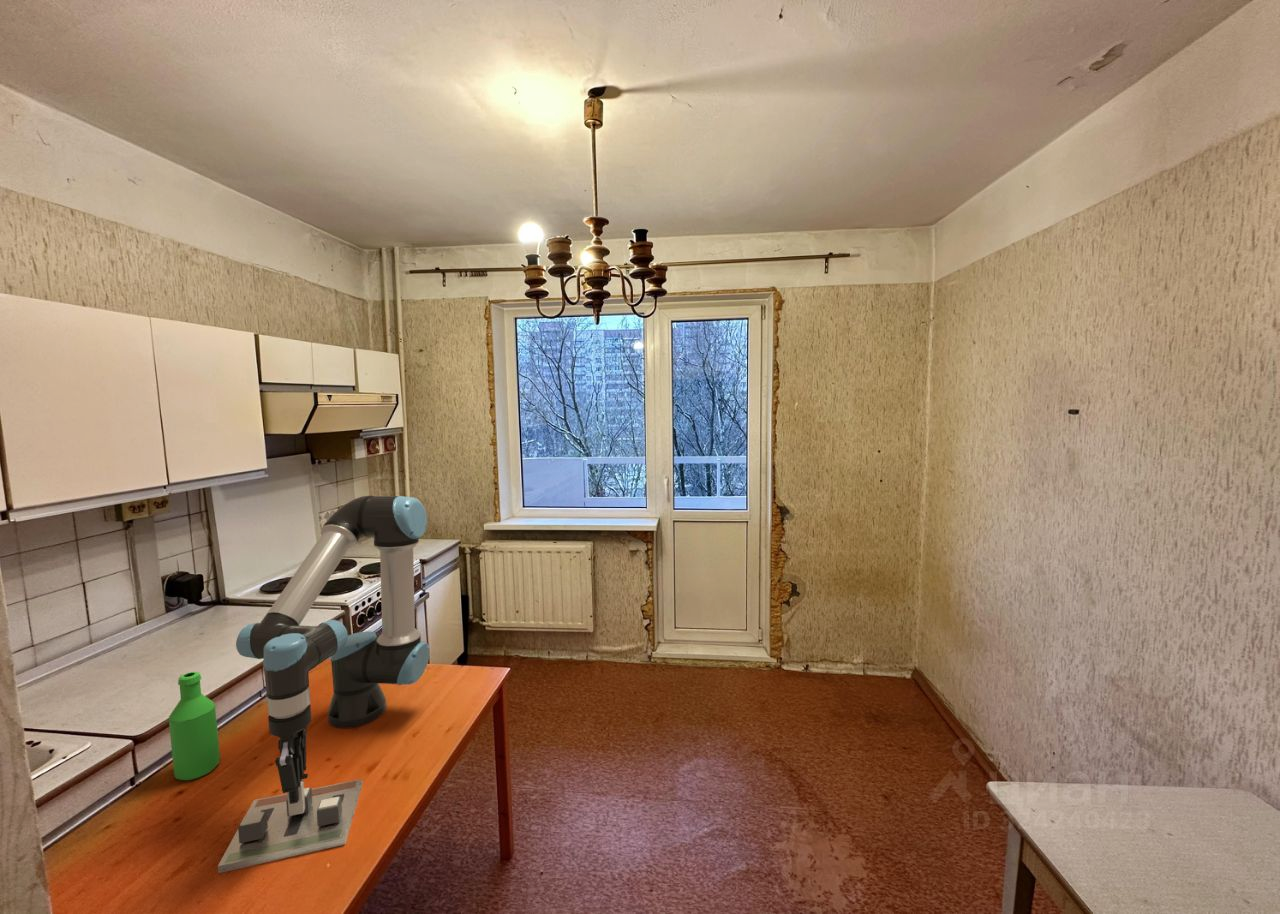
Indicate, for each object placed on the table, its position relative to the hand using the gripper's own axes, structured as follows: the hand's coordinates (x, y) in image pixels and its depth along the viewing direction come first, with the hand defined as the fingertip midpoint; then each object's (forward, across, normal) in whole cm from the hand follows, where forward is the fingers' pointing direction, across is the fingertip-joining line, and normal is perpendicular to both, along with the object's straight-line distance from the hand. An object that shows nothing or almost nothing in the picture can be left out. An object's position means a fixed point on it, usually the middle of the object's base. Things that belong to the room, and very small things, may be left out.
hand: (297, 812), depth 114 cm
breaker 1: (+1, +3, -7) cm, 8 cm away
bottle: (+3, -27, -29) cm, 40 cm away
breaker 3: (+1, +3, +7) cm, 8 cm away
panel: (+3, 0, 0) cm, 3 cm away
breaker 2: (+1, -2, 0) cm, 2 cm away
